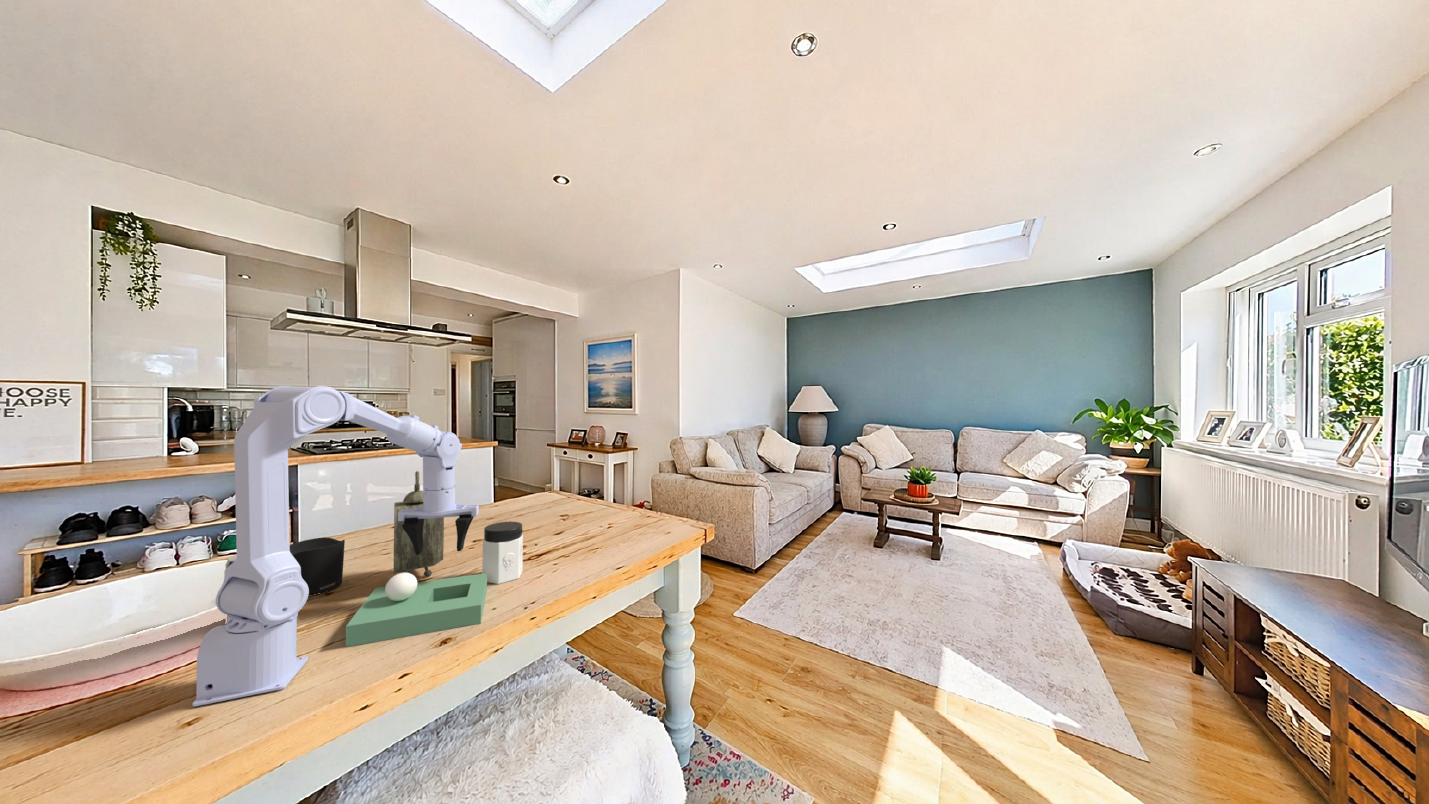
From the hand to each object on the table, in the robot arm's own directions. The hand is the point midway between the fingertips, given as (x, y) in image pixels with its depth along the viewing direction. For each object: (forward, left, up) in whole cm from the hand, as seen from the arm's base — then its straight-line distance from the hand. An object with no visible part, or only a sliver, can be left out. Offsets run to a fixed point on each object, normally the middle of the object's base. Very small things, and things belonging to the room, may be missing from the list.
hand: (440, 551), depth 91 cm
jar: (+12, +6, -10) cm, 17 cm away
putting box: (-1, -8, -10) cm, 12 cm away
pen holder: (-25, +14, -10) cm, 30 cm away
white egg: (-5, -8, -4) cm, 10 cm away
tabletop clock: (-6, +12, -10) cm, 17 cm away
